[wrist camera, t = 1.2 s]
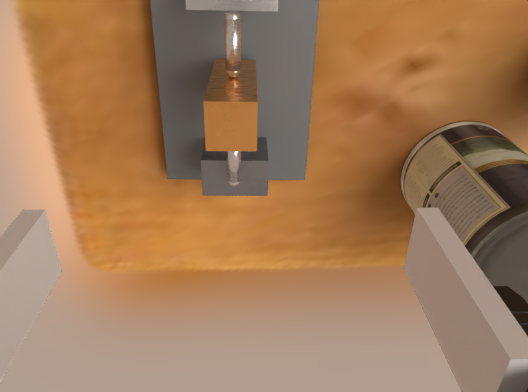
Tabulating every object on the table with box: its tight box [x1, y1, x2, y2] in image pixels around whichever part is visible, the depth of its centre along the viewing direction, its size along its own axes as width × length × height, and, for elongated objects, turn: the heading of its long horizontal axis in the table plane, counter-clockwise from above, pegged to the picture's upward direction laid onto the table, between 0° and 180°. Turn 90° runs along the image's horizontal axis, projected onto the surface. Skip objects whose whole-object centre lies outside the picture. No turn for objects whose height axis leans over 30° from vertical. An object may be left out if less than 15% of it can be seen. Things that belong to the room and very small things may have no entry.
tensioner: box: [201, 137, 268, 196], centre depth 36 cm, size 3×5×4 cm, turn 89°
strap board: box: [150, 0, 319, 180], centre depth 33 cm, size 26×12×2 cm, turn 179°
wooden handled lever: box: [185, 0, 278, 186], centre depth 30 cm, size 13×5×10 cm, turn 179°
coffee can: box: [401, 121, 528, 303], centre depth 35 cm, size 10×10×14 cm
